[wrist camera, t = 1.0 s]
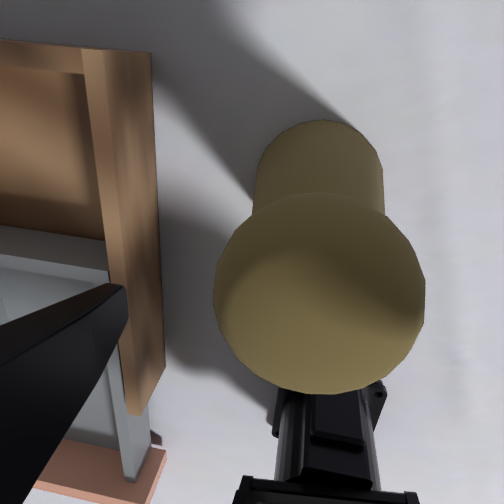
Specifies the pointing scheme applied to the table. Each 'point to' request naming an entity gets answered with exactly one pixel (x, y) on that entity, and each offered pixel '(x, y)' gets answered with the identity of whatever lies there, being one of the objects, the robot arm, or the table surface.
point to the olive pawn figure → (319, 268)
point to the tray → (106, 390)
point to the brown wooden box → (89, 175)
